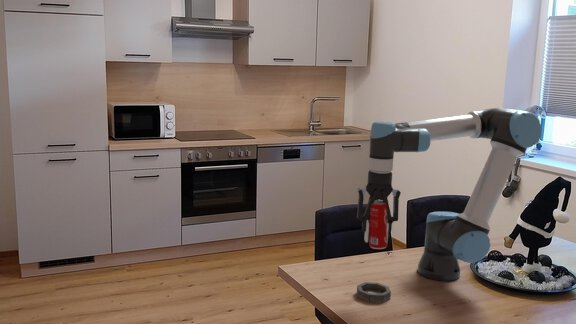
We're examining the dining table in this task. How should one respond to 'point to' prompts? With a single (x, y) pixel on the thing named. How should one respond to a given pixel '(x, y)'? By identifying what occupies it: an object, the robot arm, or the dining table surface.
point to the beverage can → (378, 225)
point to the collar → (373, 292)
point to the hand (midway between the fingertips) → (375, 241)
